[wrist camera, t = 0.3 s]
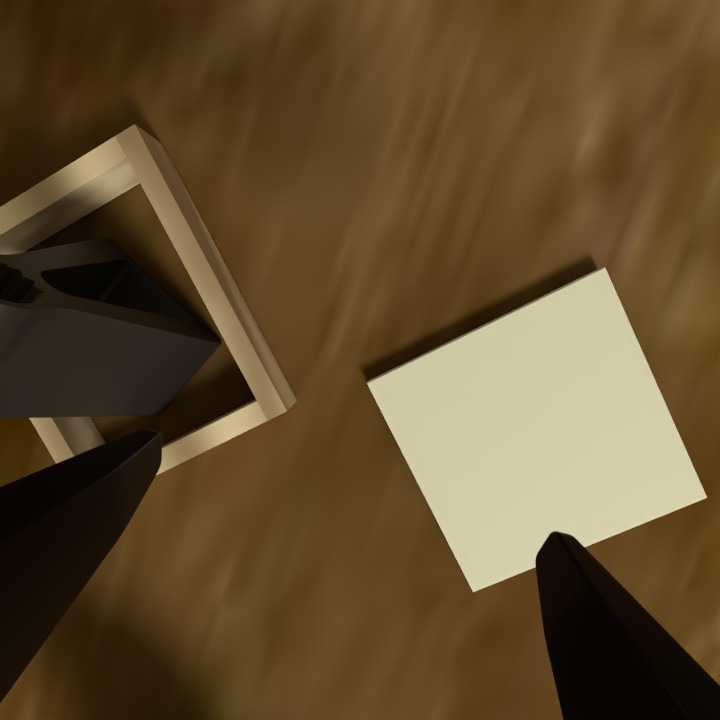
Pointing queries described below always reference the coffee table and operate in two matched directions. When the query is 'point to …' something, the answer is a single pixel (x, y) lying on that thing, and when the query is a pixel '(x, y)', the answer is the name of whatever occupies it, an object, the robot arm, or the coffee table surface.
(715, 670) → the coffee table surface
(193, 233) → the birch pocket
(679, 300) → the coffee table surface
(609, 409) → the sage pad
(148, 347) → the phone stand
